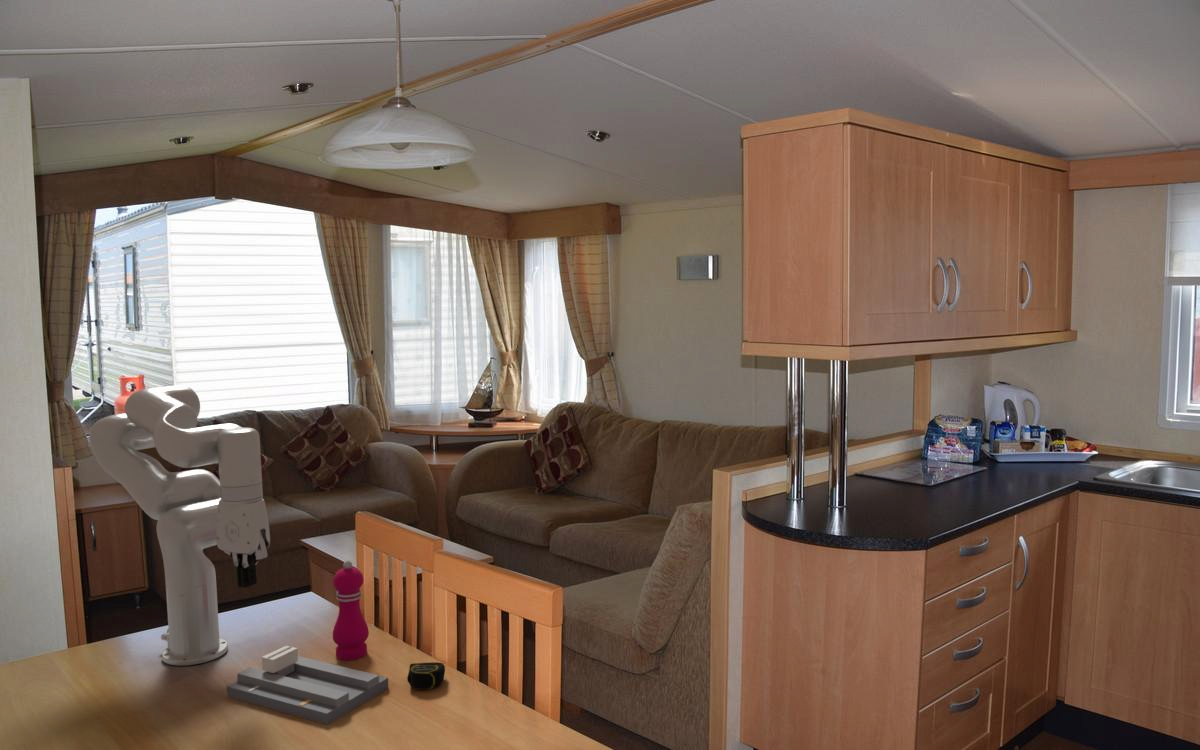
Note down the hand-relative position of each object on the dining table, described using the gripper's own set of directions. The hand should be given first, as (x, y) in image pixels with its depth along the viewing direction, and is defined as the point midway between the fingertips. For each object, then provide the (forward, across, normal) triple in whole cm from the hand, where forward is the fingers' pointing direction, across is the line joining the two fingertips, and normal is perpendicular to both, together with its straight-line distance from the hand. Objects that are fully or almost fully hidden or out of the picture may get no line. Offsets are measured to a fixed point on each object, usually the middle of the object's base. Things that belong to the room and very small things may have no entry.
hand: (247, 585), depth 176 cm
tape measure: (+19, +32, +13) cm, 40 cm away
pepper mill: (+19, +10, +17) cm, 27 cm away
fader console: (+19, +15, 0) cm, 24 cm away
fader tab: (+16, +8, 0) cm, 18 cm away
